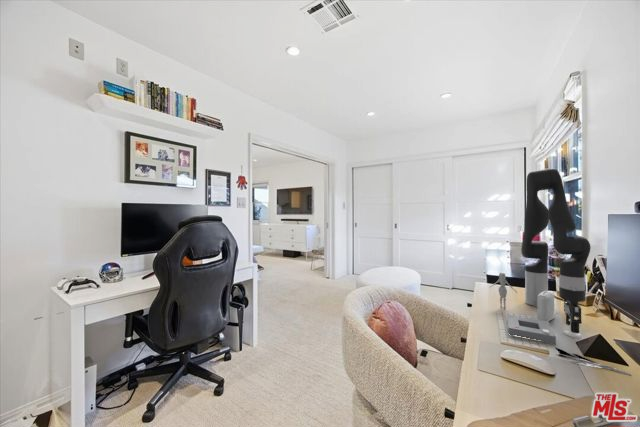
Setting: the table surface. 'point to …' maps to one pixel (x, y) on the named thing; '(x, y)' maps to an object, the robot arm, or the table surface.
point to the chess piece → (570, 333)
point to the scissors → (587, 361)
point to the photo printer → (545, 306)
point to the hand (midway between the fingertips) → (572, 328)
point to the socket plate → (531, 329)
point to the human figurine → (502, 288)
